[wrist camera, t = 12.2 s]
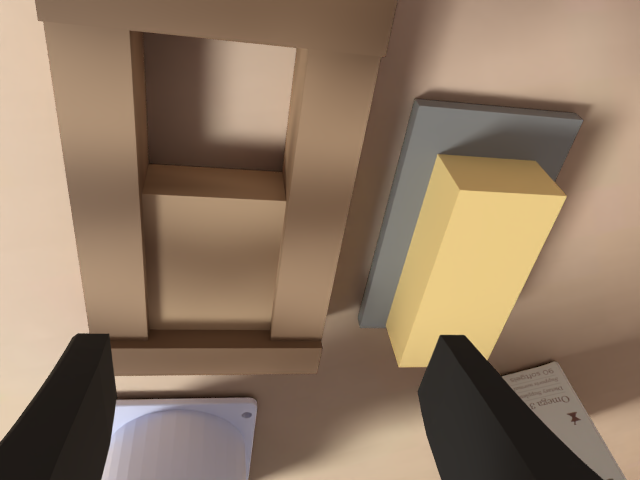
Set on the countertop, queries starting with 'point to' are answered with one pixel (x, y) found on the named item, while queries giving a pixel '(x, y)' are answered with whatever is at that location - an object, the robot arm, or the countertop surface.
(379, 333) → the countertop surface
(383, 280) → the mat
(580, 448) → the supplement box
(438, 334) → the bar
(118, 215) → the pocket board
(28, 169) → the countertop surface
